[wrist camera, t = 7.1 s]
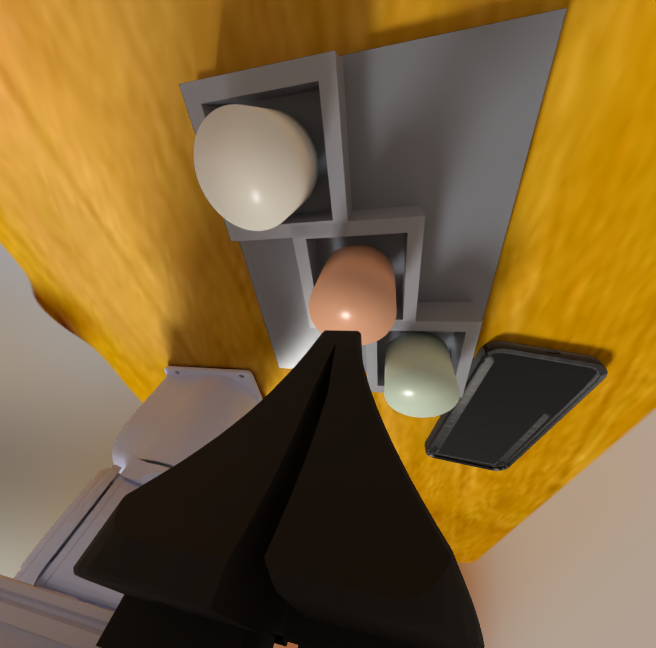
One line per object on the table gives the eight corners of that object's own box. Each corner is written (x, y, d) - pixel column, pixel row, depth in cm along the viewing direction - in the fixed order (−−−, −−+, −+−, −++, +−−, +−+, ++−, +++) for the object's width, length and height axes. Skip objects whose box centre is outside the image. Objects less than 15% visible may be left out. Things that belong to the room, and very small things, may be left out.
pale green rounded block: (384, 375, 19) (384, 414, 16) (385, 331, 17) (384, 368, 14) (444, 378, 18) (453, 420, 16) (453, 332, 16) (465, 372, 13)
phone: (422, 455, 27) (489, 345, 17) (421, 444, 27) (484, 335, 18) (504, 472, 26) (619, 368, 17) (500, 461, 27) (607, 355, 18)
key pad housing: (280, 363, 23) (270, 386, 21) (196, 88, 13) (159, 81, 11) (465, 372, 20) (474, 400, 18) (559, 13, 9) (606, -19, 7)
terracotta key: (327, 309, 16) (315, 344, 14) (317, 245, 14) (301, 273, 11) (394, 309, 15) (395, 347, 13) (396, 241, 13) (398, 270, 10)
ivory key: (249, 213, 14) (216, 234, 11) (222, 117, 11) (174, 114, 9) (323, 207, 13) (307, 227, 10) (311, 101, 11) (285, 93, 8)
